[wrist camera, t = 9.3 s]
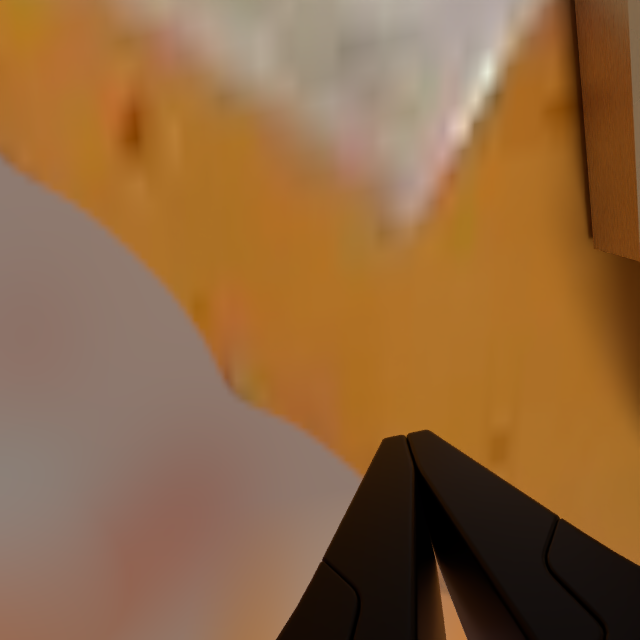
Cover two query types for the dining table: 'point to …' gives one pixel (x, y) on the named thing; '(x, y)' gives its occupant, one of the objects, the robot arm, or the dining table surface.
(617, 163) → the beige block with rivets
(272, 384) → the dining table surface
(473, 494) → the robot arm
